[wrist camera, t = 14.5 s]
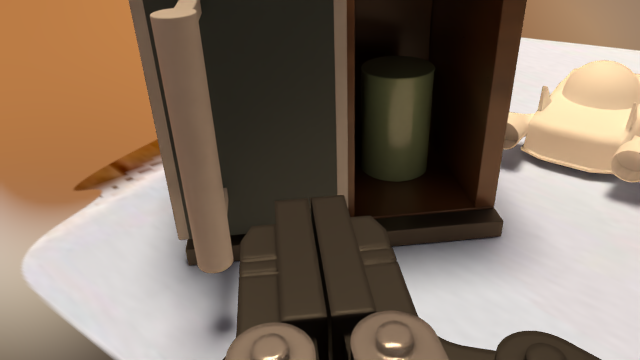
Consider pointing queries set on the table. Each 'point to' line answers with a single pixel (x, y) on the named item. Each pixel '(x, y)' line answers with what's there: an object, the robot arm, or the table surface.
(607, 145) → the plane toy
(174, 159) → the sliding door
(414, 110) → the green jar
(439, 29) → the cupboard
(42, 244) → the table surface
